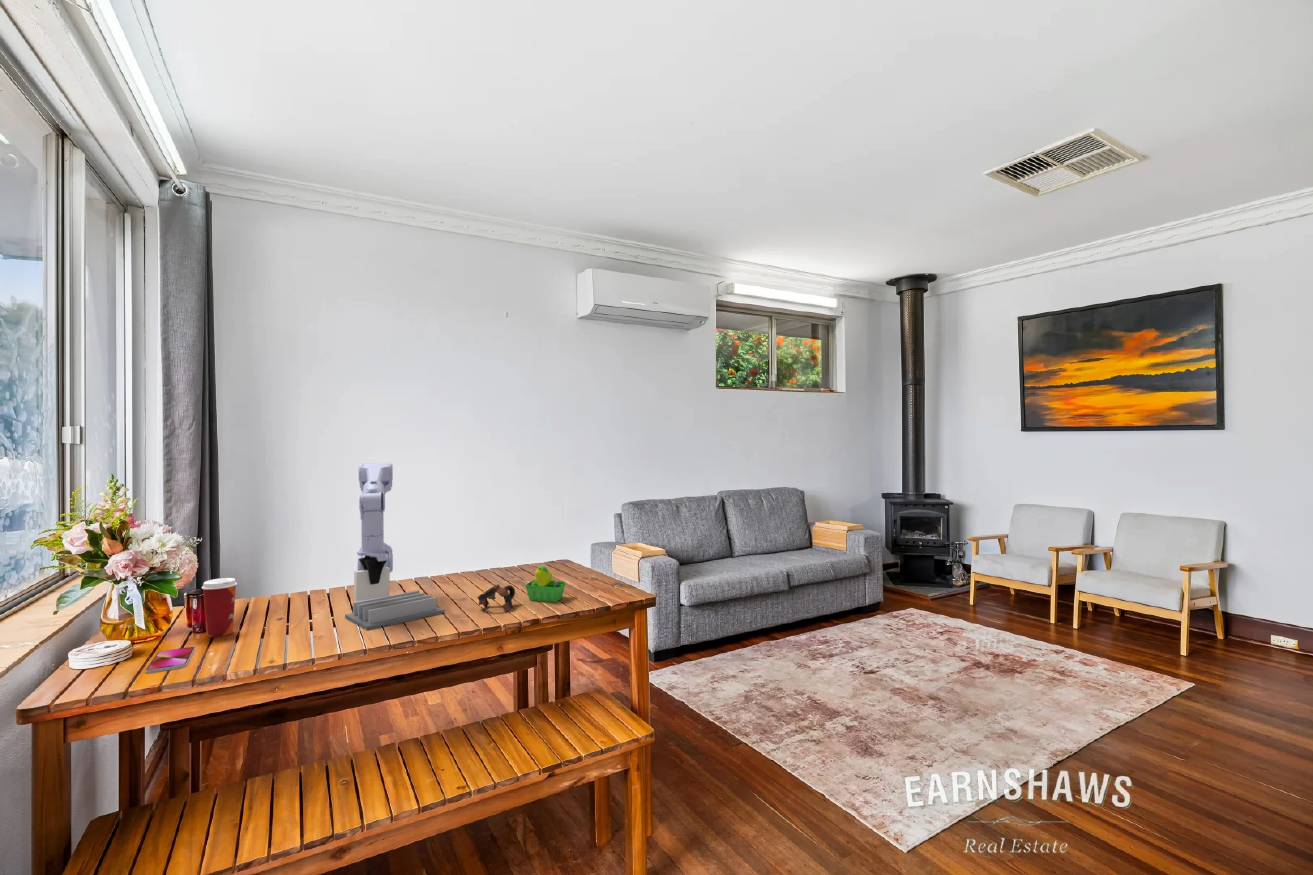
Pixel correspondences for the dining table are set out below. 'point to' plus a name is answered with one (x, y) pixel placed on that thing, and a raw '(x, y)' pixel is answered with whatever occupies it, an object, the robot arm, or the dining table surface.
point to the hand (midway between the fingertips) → (372, 582)
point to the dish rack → (393, 609)
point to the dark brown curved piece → (502, 592)
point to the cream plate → (368, 591)
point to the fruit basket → (544, 587)
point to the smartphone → (170, 660)
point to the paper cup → (219, 606)
